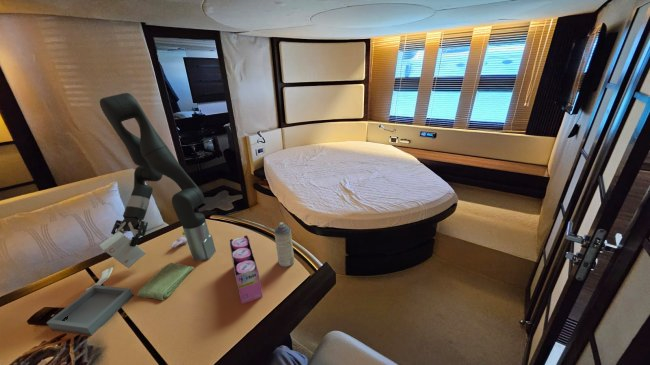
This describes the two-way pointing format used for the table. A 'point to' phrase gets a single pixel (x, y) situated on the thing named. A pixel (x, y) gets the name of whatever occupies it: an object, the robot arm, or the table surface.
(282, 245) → the aerosol can
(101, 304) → the bin
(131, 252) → the small box
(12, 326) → the table surface
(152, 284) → the washcloth
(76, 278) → the table surface
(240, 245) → the gum box
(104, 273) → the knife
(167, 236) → the table surface
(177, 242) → the pale purple eggplant
